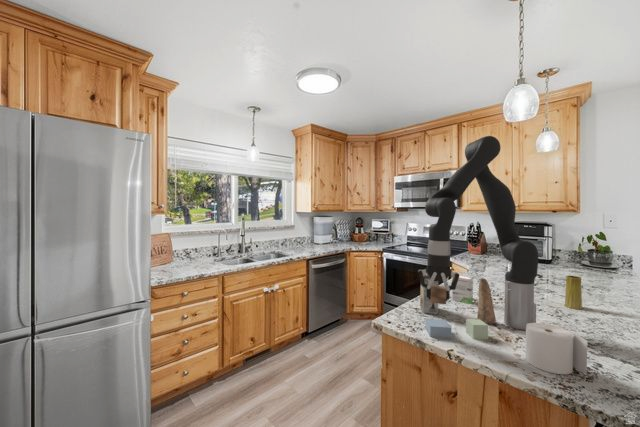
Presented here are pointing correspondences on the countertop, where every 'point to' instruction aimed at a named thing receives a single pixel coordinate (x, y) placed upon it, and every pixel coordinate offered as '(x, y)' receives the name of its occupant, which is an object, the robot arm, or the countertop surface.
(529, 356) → the toilet tissue
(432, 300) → the walnut cube
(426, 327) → the base block
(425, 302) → the coffee box
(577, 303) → the vase
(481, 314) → the tan long rounded piece
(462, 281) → the ink box
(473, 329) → the sage cube
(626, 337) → the countertop surface
